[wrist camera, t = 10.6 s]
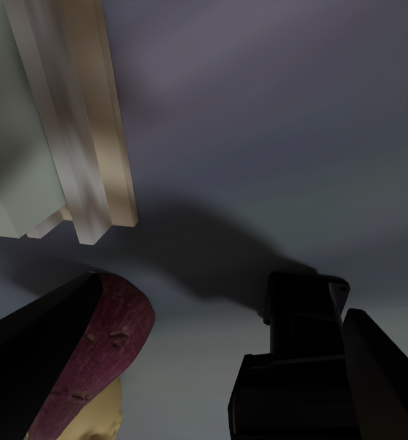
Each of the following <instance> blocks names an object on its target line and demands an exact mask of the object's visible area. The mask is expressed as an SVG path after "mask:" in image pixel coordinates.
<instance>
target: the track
mask: <svg viewBox="0 0 408 440" xmlns="http://www.w3.org/2000/svg"><path fill="white" fill-rule="evenodd" d="M3 3H4V6H5V9H6V12H7V16H8V19H9V22H10V25H11V28H12V31H13V34H14V38H15V41H16V44H17V47H18V50H19V53H20V56H21V60H22V63H23V66H24V69H25V72H26V75H27V79H28V82H29V85H30V88H31V91H32V94H33V97H34V101H35V104H36V107H37V110H38V113H39V116H40V119H41V123H42V126H43V129H44V132H45V135H46V138H47V142H48V145H49V148H50V151H51V154H52V157H53V160H54V164H55V167H56V170H57V173H58V176H59V179H60V182H61V186H62V189H63V192H64V195H65V198H66V201H67V204H66V205H64V206H63V207H61V208H60V209H59V210H57V211H56V212H54V213H53V214H52V215H50V216H49V217H48V218H46V219H45V220H43V221H42V222H41V223H39V224H38V225H37V226H35V227H34V228H32V229H31V230H30V231H28V232H27V233H26V234H27V237H31V238H39V239H41V238H42V237H43V236H44V235H46V234H47V233H48V232H49V231H51V230H52V229H53V228H54V227H56V226H57V225H58V224H59V223H61V222H62V221H63V220H71V221H73V223H74V227H75V230H76V233H77V236H78V239H79V242H80V244H88V245H94V244H95V243H96V242H97V241H98V240H99V239H100V238H101V237H102V236H103V235H104V234H105V232H106V231H107V230H108V229H109V228H110V227H111V226H112V225H118V226H128V227H134V226H135V225H136V224H137V223H138V221H139V220H138V214H137V208H136V202H135V196H134V190H133V184H132V178H131V173H130V167H129V161H128V155H127V149H126V143H125V137H124V131H123V125H122V119H121V114H120V108H119V102H118V96H117V90H116V84H115V78H114V72H113V66H112V60H111V55H110V49H109V43H108V37H107V31H106V25H105V19H104V13H103V7H102V1H101V0H3Z"/></svg>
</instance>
